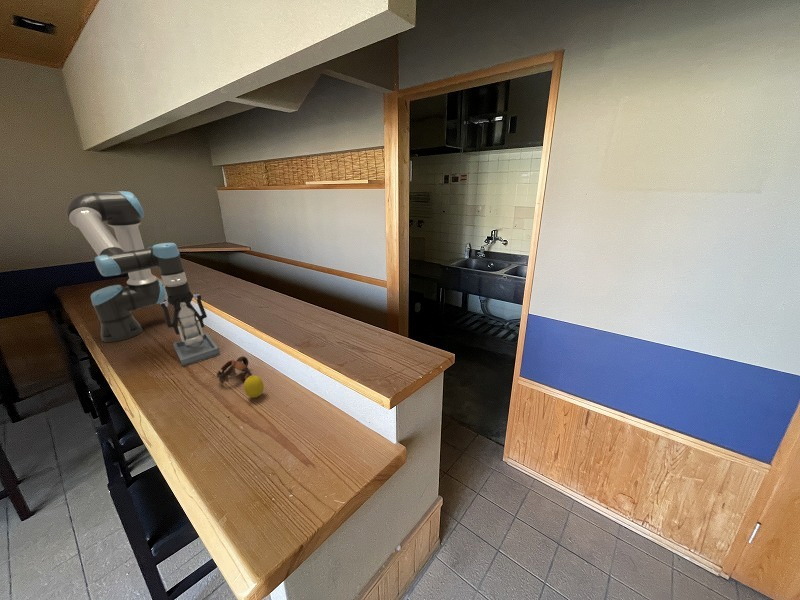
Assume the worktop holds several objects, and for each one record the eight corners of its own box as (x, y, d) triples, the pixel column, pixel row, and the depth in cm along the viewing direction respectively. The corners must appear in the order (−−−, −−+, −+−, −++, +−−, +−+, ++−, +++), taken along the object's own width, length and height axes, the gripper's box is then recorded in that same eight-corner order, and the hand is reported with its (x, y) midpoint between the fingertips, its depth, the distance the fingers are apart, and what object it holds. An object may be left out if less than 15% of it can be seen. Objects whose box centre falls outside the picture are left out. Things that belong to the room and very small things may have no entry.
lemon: (247, 394, 103) (241, 373, 100) (265, 390, 105) (260, 369, 102) (246, 404, 98) (241, 383, 95) (266, 399, 100) (260, 378, 97)
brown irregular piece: (247, 387, 108) (228, 373, 104) (228, 396, 111) (209, 382, 107) (260, 361, 118) (244, 347, 114) (242, 370, 121) (225, 356, 116)
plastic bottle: (182, 349, 130) (167, 303, 123) (197, 341, 136) (183, 297, 129) (193, 351, 128) (179, 304, 121) (208, 343, 134) (195, 298, 127)
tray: (174, 349, 136) (172, 343, 135) (208, 338, 144) (207, 332, 143) (183, 367, 122) (180, 360, 121) (220, 354, 130) (218, 347, 128)
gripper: (146, 292, 114) (166, 349, 122) (206, 280, 126) (220, 332, 134) (144, 287, 119) (163, 342, 127) (202, 276, 131) (216, 327, 139)
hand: (192, 337), depth 130 cm, fingers closed on plastic bottle, 6 cm apart
